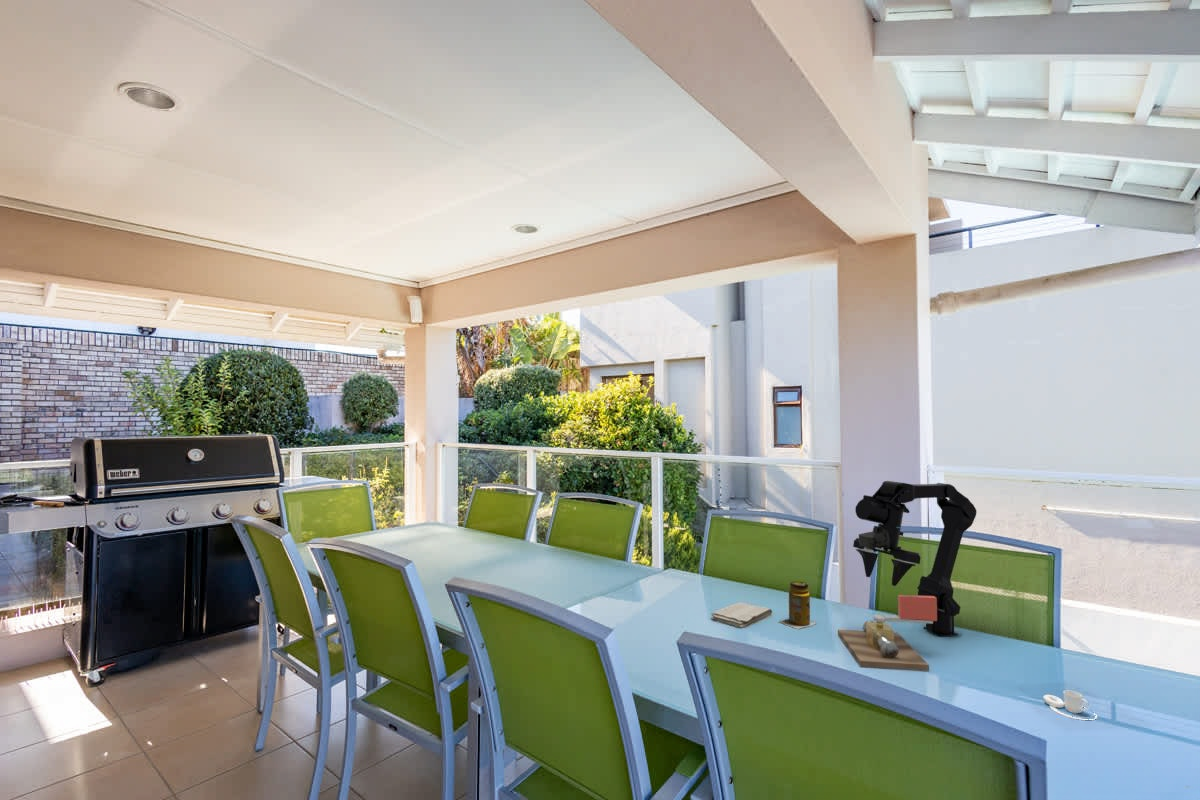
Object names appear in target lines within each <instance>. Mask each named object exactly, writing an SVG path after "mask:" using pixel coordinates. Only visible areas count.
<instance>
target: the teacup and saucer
mask: <svg viewBox="0 0 1200 800" xmlns="http://www.w3.org/2000/svg"><path fill="white" fill-rule="evenodd" d="M1062 694H1063V700H1062V699H1061V697H1058V696H1055V695H1052V694H1045V695H1043V701H1044V702H1045V703H1046V704H1047V705H1049V709H1051V710H1052V711H1053V712H1055V713H1057V714H1058V715H1061V716H1063V717H1067V718H1069V719H1074V720H1078V719H1079V720H1078V721H1085V720H1088V719H1081V718H1082V717H1078V718H1076V717H1077V716H1073V717H1072V715H1069V714H1066V713H1063V712H1062V711H1060V710H1059V709H1062V708H1064V707H1065V709H1066V711H1067V710H1068V712H1069V713H1072V714H1076V713H1079V714H1080V713H1084V712H1086V711H1085V710H1086V709H1087V708H1088V709H1089V701H1087V699H1085V698H1083V695H1082V694H1081V693H1080V692H1078V691H1075V690H1070V689H1069V690H1068V689H1067V690H1063V693H1062ZM1083 701H1084V702H1085V704H1086V706H1083ZM1082 707H1084V708H1085V709H1084V710H1083V709H1082ZM1057 708H1058V709H1057ZM1095 713H1096V712H1094V715H1096V716H1095V718H1094V719H1089V720H1092V721H1095V719H1096V720H1097V719H1098V715H1097V713H1096V714H1095Z"/></svg>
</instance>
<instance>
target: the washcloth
mask: <svg viewBox="0 0 1200 800" xmlns="http://www.w3.org/2000/svg"><path fill="white" fill-rule="evenodd" d="M710 614H711V616H712V617H711V621H712V620H714V621H715V622H718V623H721V624H724V625H728V626H731V627H735V628H740V629H742V628H747V627H750V626H752V625H755V624H756V623H759V622H761V621H763V620H765V619H767V618H769V617H771V616H772V615H773V610H772V609H771V608H769V607H768V608H767V607H765V606H757V605H753V604H749V603H746V602H741V601H740V602H736V603H734V604H731V605H728V606H726V607H723V608H721V609H718V610H715V611H713V612H712V613H710Z"/></svg>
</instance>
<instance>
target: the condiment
mask: <svg viewBox="0 0 1200 800" xmlns="http://www.w3.org/2000/svg"><path fill="white" fill-rule="evenodd" d="M789 585H790V587H789V591H788V618H785V619H782V620H779V621H778V622H779V623H781V624H783V625H786V626H788V627H791V628H794V629H796V630H800V629H802V628H803V629H804V628H806V627H807V628H808V627H811V626H813V625H817V623H816V622H812V621H811V614H810V613H811V609H810V608H811V603H810V600H811V599H810V598H811V597H810V592H809V583H808V582H805V581H797V580H795V581H794V580H793V581H791V582H790V583H789Z"/></svg>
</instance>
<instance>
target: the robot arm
mask: <svg viewBox="0 0 1200 800" xmlns="http://www.w3.org/2000/svg"><path fill="white" fill-rule="evenodd" d="M935 498H936V505H937V506H938V507H939V508H940V510H941V514H940V518H941V521H942V524H943V530H942V532H941V537H940V540H939V543H938V547H937V551H936V553H935V558H934V561H933V565H932V567H931V571H930V573H929V574H928V575H927V576H924V575H922V576H921V577H920V580H919V584H918V585H917V588H916V589H917V595H918V596H935V597H936V598H937V621H933V624H930V623H925V626H923V629H924V630H925V631H927V632H929V633H931V634H933V635H934V636H937V637H950V636H951V637H952V636H959V633H958V632H956V631H955V617H957V615H959V614H960V612H961V611H960V610H961V606H960V605H959V604H958V602H957V601H956V600H955V599H954V598H953V597H954V587H953V584H952V581H951V578H952V575H953V574H952V573H953V571H954V567H955V563H956V560H957V556H958V552H959V549H960V545H961V542H962V539H963V535H964V532H965V531H967V530H968V529H969V528H971V526H973V524H974V520H975V519H976V517H977V508H976V507H975V505H974V504H973V502H972V501H971V500H969V498H968V497H967V496H965V495H964V494H963V493H961V492H960V491H958V489H956V487H955V485H952V484H950V483H943V482H941V483H940V482H937V483H919V484H912V483H905V482H901V481H900V482H898V481H893V480H892V481H890V480H885V481H883V482H882V484H881V485H880V487H879V488H878V489H877V491H875V492H874V493H873V495H868V494H867V495H866V494H864V495H863V497H862V499H860V500H859V501H858V502H857V504H856V506H855V514H856V517H857V518H858V519H860V520H863V521H868V522H872V523H877V526H875V525H874V527H873V529H872V531H866V532H863V533H860V534H858V537H856V538H855V539H854V540H853V543H852V544H853V545H852V547H853V548H855V550H856V552H858V553H859V554H860V556H861V558H862V562H863V566H864V568H863V569H864V573H865V577H866V578H870V577H871V576H872V574H873V571H874V568H875V565H876V563H877V559H878V556H879V553H882V554H886V555H889V556H892V557H893V558H891V560H890V561H891V563H892V565H893V568H892V577H891V586H894V587H897V585H898V584H899V583H900V582H901V580H902V578H903V577H904V576H905V575H906V573H908V572H909V571H910V569H911V568H912V567H916V564H918V565H920V564H921V555H920V553H918V552H915V551H911V550H906V549H902V547H901V546H899V543H900V537H903V536H904V531H901V530H902V523H903V516H904V513H905V514H909V513H910V509H909V508H908V507H907V506H906V504H907V503H911V502H913V501H914V500H915V499H916V500H917V499H935ZM876 552H878V553H876Z"/></svg>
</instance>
